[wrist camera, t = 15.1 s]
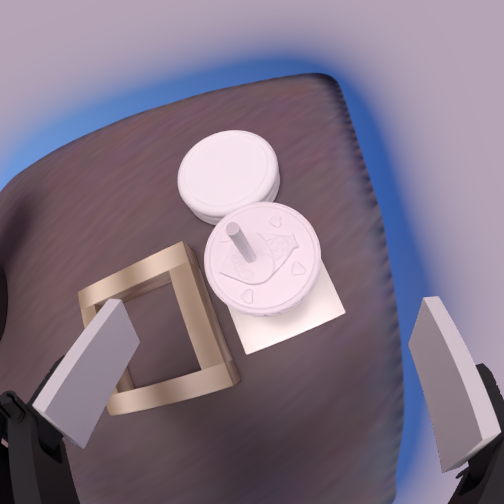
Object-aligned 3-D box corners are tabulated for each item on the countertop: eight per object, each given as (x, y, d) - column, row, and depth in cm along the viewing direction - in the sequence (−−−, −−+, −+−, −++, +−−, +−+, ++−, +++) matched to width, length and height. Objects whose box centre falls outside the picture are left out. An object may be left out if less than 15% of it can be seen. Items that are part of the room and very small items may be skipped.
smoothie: (228, 267, 25) (155, 191, 12) (295, 239, 25) (287, 135, 12) (254, 335, 23) (195, 332, 10) (325, 306, 23) (360, 264, 10)
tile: (248, 354, 24) (246, 354, 23) (214, 263, 27) (211, 260, 26) (343, 313, 23) (345, 312, 22) (302, 225, 26) (302, 221, 25)
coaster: (277, 143, 30) (274, 122, 26) (283, 224, 27) (280, 208, 24) (191, 154, 31) (181, 136, 28) (184, 232, 28) (170, 219, 25)
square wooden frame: (127, 410, 23) (110, 415, 21) (95, 296, 28) (77, 292, 25) (241, 380, 23) (233, 385, 20) (194, 251, 27) (182, 241, 24)
